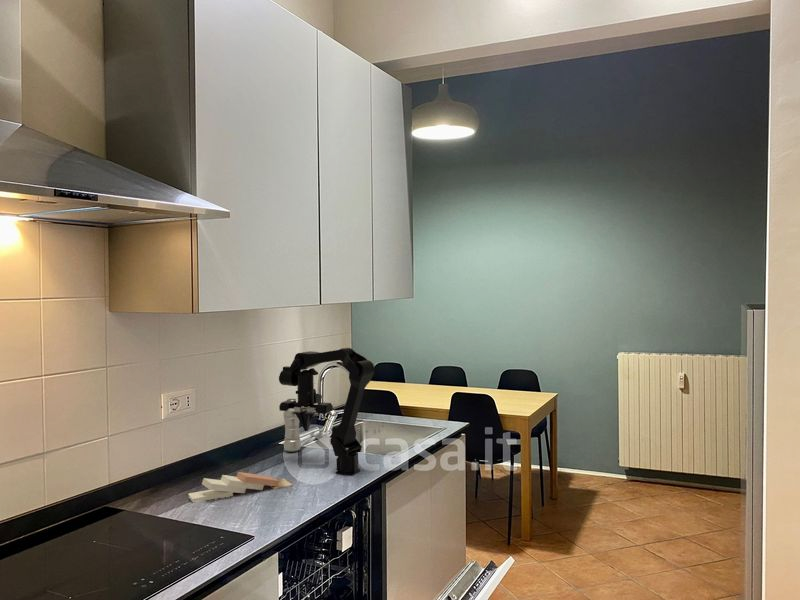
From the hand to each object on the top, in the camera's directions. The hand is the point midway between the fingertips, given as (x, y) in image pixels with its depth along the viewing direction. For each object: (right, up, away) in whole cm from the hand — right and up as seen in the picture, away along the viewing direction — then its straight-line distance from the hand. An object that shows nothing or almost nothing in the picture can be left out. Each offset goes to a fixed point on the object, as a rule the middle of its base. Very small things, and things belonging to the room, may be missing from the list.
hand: (306, 430), depth 226 cm
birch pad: (-6, -13, -22) cm, 26 cm away
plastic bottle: (-8, -12, +18) cm, 23 cm away
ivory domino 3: (-11, -12, -25) cm, 30 cm away
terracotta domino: (-7, -11, -23) cm, 27 cm away
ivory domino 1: (-19, -13, -30) cm, 38 cm away
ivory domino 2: (-16, -12, -28) cm, 35 cm away
